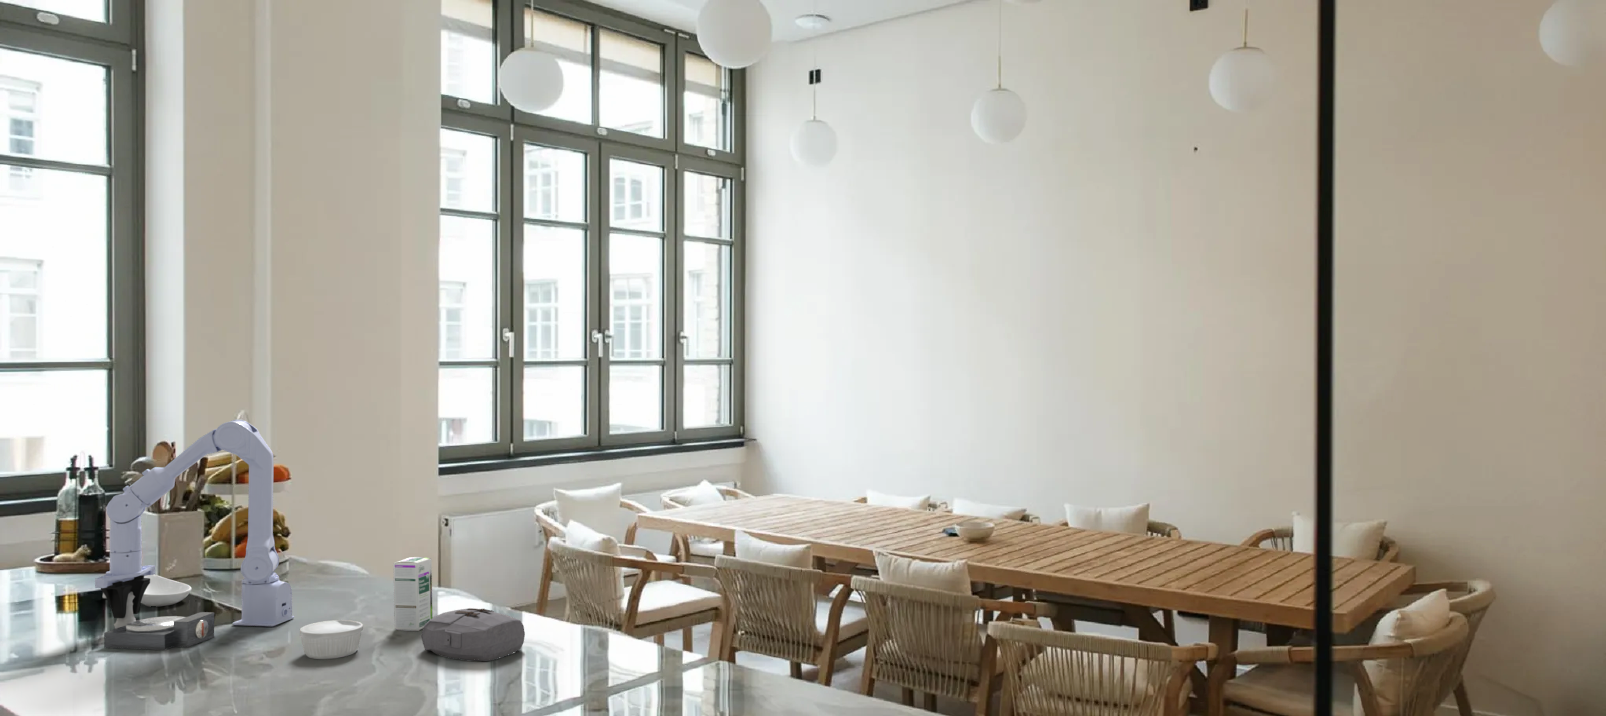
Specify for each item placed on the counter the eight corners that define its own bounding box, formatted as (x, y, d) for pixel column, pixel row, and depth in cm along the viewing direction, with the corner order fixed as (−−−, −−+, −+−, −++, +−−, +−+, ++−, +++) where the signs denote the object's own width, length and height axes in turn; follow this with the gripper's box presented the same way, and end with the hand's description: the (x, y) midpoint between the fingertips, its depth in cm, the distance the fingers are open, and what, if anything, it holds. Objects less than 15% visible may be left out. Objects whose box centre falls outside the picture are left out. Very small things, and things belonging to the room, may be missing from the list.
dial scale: (224, 634, 227) (224, 609, 227) (180, 650, 214) (180, 625, 214) (151, 631, 229) (151, 607, 229) (104, 647, 216) (104, 622, 216)
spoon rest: (202, 601, 258) (202, 571, 258) (156, 612, 247) (156, 580, 247) (133, 593, 267) (133, 563, 267) (85, 603, 257) (85, 572, 257)
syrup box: (418, 631, 229) (418, 562, 229) (392, 630, 231) (392, 561, 230) (433, 624, 235) (433, 557, 235) (408, 623, 236) (408, 556, 236)
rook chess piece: (120, 628, 231) (120, 590, 231) (142, 628, 232) (142, 590, 232) (108, 634, 227) (108, 595, 227) (131, 633, 227) (131, 595, 227)
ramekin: (375, 648, 216) (375, 622, 216) (333, 663, 206) (333, 635, 206) (329, 643, 220) (329, 617, 220) (286, 658, 209) (286, 630, 209)
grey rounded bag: (534, 649, 216) (462, 636, 226) (534, 607, 216) (462, 596, 226) (477, 668, 203) (402, 653, 213) (477, 623, 203) (402, 610, 213)
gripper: (133, 544, 237) (133, 607, 237) (81, 556, 223) (81, 623, 223) (163, 545, 236) (163, 608, 236) (113, 557, 222) (112, 624, 222)
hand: (125, 615), depth 229 cm, fingers closed on rook chess piece, 3 cm apart
